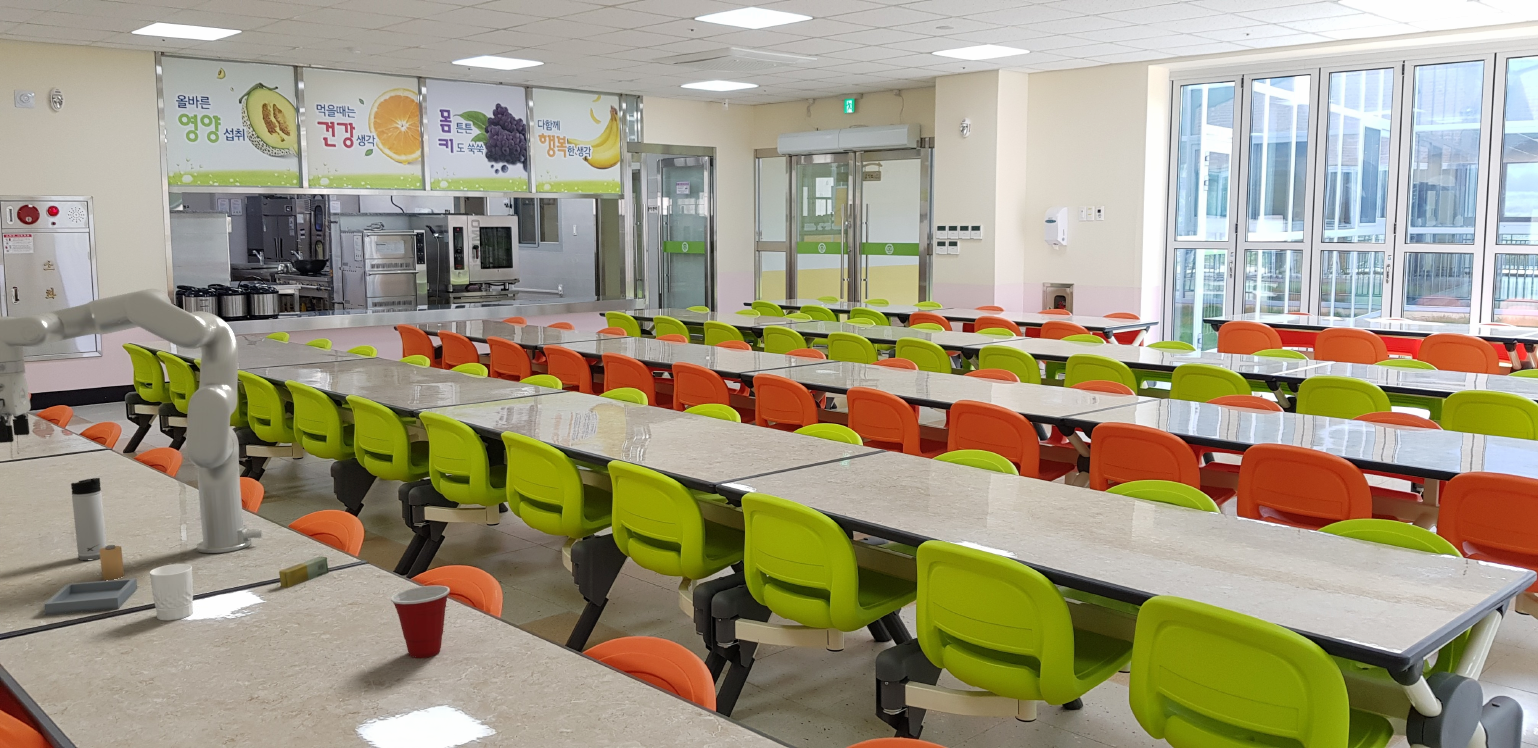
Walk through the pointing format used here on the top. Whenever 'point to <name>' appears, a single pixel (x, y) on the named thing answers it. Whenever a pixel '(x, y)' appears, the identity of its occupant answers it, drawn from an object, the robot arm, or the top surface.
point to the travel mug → (88, 518)
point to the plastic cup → (422, 618)
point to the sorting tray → (91, 596)
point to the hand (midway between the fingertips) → (14, 438)
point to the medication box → (303, 572)
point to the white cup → (172, 591)
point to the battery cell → (111, 562)
